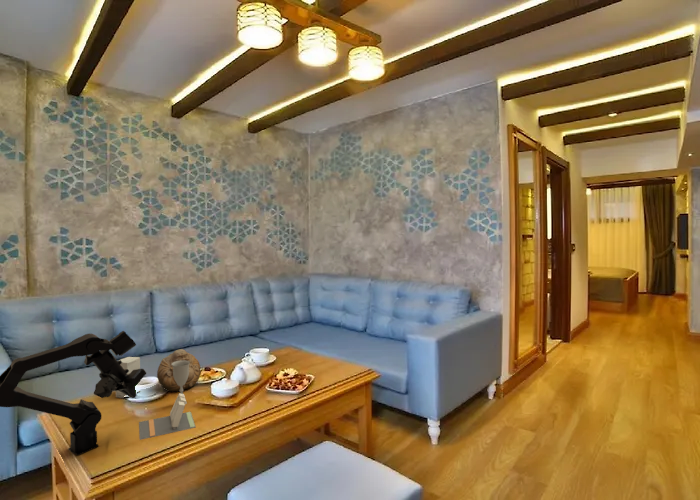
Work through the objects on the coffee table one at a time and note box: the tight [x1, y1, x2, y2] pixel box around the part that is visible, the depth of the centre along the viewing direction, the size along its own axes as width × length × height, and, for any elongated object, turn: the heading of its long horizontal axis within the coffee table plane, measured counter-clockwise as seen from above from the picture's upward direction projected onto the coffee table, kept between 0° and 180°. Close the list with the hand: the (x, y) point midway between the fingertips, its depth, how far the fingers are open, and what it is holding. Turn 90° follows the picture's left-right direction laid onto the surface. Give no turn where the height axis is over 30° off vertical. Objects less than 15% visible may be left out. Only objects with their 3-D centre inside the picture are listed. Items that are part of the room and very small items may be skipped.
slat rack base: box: [138, 393, 196, 441], centre depth 146 cm, size 18×14×10 cm
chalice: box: [172, 360, 190, 405], centre depth 163 cm, size 7×7×18 cm
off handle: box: [171, 401, 186, 427], centre depth 145 cm, size 2×3×8 cm, turn 30°
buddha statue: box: [156, 348, 202, 393], centre depth 184 cm, size 20×17×17 cm
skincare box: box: [115, 356, 141, 399], centre depth 175 cm, size 8×7×16 cm
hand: (134, 397), depth 142 cm, fingers closed
